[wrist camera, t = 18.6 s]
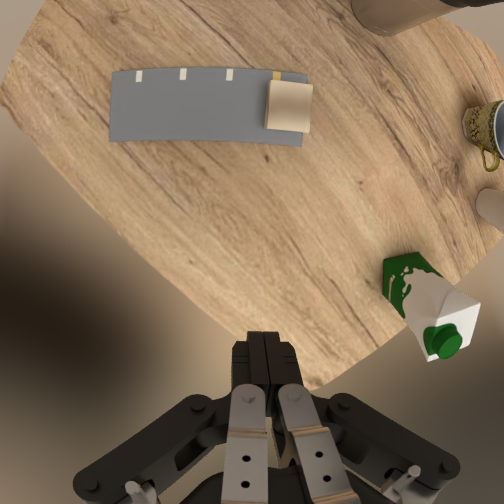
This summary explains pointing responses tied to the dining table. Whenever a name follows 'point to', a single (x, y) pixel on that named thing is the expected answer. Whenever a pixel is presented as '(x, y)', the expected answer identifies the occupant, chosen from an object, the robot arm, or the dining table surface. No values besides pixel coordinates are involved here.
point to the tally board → (196, 105)
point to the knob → (288, 106)
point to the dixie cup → (491, 207)
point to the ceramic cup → (486, 130)
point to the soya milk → (429, 305)
